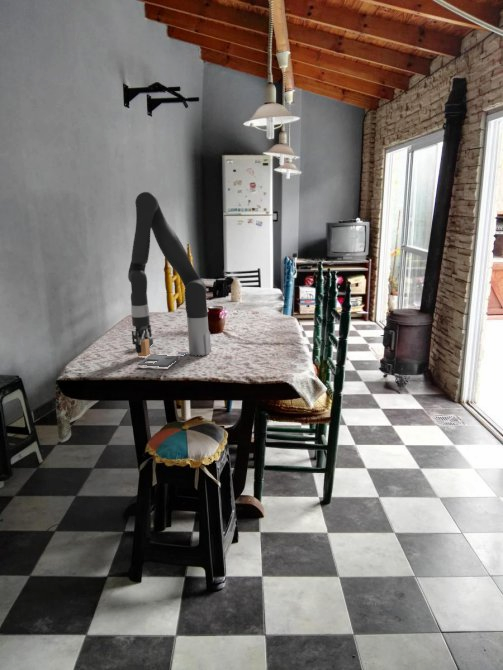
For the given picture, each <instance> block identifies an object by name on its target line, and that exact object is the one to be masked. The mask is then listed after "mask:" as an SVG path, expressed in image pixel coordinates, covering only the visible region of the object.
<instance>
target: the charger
mask: <svg viewBox="0 0 503 670" xmlns="http://www.w3.org/2000/svg"><path fill="white" fill-rule="evenodd" d="M149 354H150V355H151V347H150V346H149V339H143V340H142V341H141V353H137V357H138V356H147V355H149Z"/></svg>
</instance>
